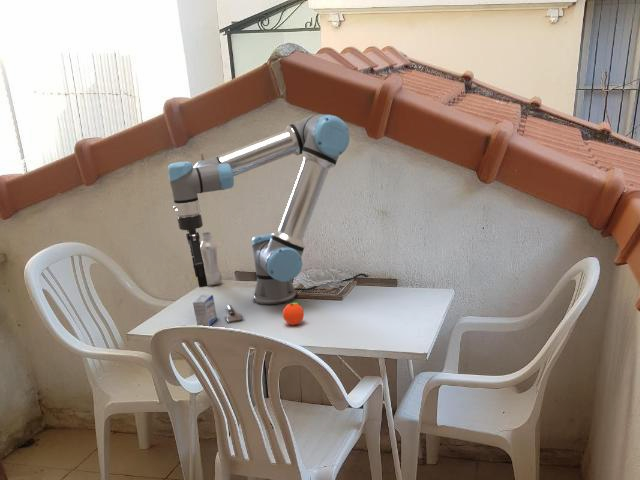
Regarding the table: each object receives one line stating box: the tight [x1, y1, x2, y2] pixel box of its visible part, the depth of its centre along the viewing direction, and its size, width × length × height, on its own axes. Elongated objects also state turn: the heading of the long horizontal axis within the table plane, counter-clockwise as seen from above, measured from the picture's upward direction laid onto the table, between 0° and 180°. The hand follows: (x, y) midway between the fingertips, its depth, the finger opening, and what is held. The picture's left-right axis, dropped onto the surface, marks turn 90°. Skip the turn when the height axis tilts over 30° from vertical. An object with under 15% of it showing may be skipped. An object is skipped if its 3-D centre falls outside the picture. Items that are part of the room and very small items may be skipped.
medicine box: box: [192, 294, 218, 327], centre depth 234 cm, size 8×4×9 cm, turn 169°
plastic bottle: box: [200, 231, 222, 286], centre depth 272 cm, size 6×7×20 cm
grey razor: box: [225, 304, 243, 324], centre depth 241 cm, size 16×5×2 cm, turn 15°
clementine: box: [282, 302, 305, 326], centre depth 227 cm, size 8×7×7 cm
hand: (201, 281), depth 229 cm, fingers open, 13 cm apart
